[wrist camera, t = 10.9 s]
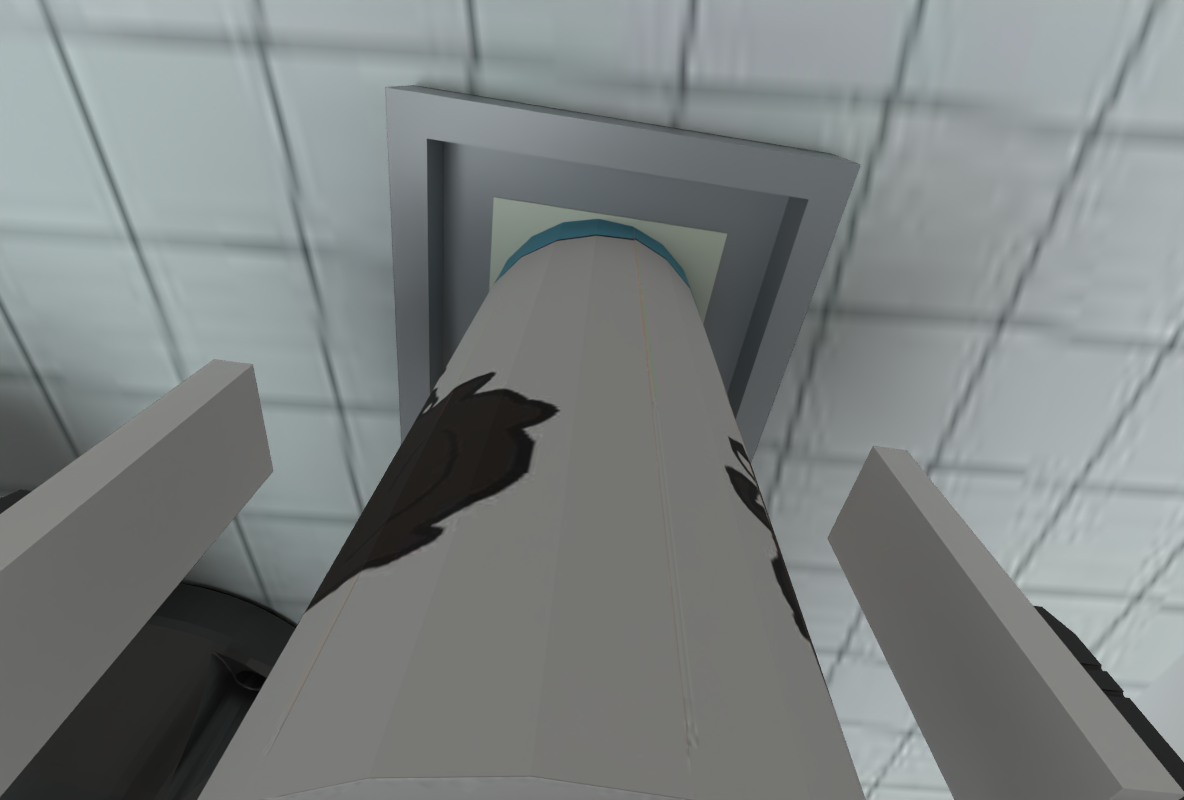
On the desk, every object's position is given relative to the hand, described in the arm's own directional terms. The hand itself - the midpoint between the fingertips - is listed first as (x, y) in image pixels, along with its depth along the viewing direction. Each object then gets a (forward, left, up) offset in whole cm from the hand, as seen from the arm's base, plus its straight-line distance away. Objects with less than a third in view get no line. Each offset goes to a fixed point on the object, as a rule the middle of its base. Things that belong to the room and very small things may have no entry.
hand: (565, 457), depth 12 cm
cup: (0, 0, -7) cm, 7 cm away
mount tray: (0, 0, -8) cm, 8 cm away
